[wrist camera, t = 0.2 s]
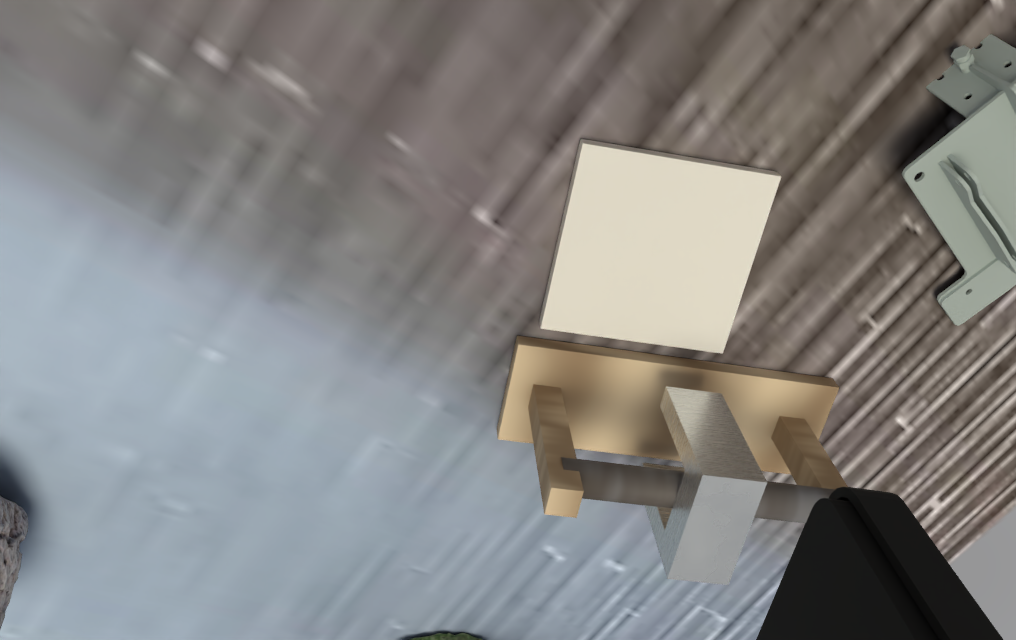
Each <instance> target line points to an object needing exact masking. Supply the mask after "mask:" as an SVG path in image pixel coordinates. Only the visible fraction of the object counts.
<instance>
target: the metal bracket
mask: <svg viewBox="0 0 1016 640" xmlns="http://www.w3.org/2000/svg"><path fill="white" fill-rule="evenodd" d="M980 44H981V45H982V47H981V48H979V49H975V48H973V49H972V50H970V49H969V48H968V47H966V46H965V45H963V46H961V47H958V48H956V49H954V51H953V53H952V55H951V58H953V59H954V63H955V64H953V65H952V66H951V67H950V68H949V69H947V70H946V71H945V72H944V73H942V75H943V76H944V78H943V79H942V80H937V79H935V80H934V81H933V82H932V83H930V84H929V85H928V86H927V87H926V88H927V90H928V91H930V92H931V93H933V94H934V95H935V96H937V97H938V98H939V99H941V100H942V101H944V102H945V103H946V104H948V105H949V106H950V107H952V108H953V109H955V110H956V111H957V112H959V113H960V114H961V115H963V116H964V117H966V118H967V119H966V120H964V121H963V122H962V123H961V124H959V125H958V126H957V127H956V128H954V129H953V130H952V131H950V132H949V133H948V134H947V135H945V136H944V137H943V138H942V139H940V140H939V141H938V142H937V143H935V144H934V145H933V146H932V147H930V148H929V149H928V150H927V151H925V152H924V153H923V154H922V155H920V156H919V157H918V158H917V159H915V160H914V161H913V162H912V163H910V164H909V165H908V166H907V167H906V168H905V169H904V170H903V172H902V176H903V178H904V179H905V181H906V182H907V184H908V185H909V187H910V189H911V190H912V192H913V193H914V195H915V196H916V198H917V199H918V201H919V202H920V204H921V205H922V207H923V208H924V210H925V211H926V213H927V214H928V216H929V217H930V219H931V220H932V222H933V223H934V225H935V226H936V228H937V229H938V231H939V232H940V234H941V235H942V237H943V238H944V240H945V241H946V243H947V244H948V246H949V247H950V249H951V250H952V252H953V253H954V255H955V256H956V258H957V259H958V261H959V262H960V264H961V265H962V267H963V268H964V270H965V273H964V275H963V276H962V277H961V278H960V279H959V280H957V281H956V282H955V283H953V284H952V285H951V286H949V287H948V288H947V289H945V290H944V291H943V292H941V293H940V294H939V295H938V296H937V301H938V303H939V304H940V306H941V307H942V308H943V310H944V311H945V312H946V314H947V315H948V317H949V318H950V319H951V321H952V322H953V323H954V324H955V325H961V324H962V323H964V322H965V321H967V320H968V319H969V318H971V317H972V316H973V315H975V314H976V313H978V312H979V311H980V310H982V309H983V308H985V307H986V306H987V305H989V304H990V303H991V302H993V301H994V300H996V299H997V298H998V297H1000V296H1001V295H1003V294H1004V293H1005V292H1007V291H1008V290H1010V289H1011V288H1012V287H1013V286H1015V285H1016V49H1015V48H1014V47H1012V46H1010V45H1009V44H1007V43H1005V42H1004V41H1002V40H1000V39H999V38H997V37H995V36H994V35H992V34H990V35H989V36H987V37H986V38H985V39H984V40H983V41H981V42H980ZM1010 63H1011V64H1012V65H1011V66H1009V67H1006V68H1005V66H1006V65H1007V64H1010ZM970 95H971V96H972V97H971V98H970V99H967V100H966V99H965V98H966V97H967V96H970ZM919 172H922V176H921V177H920V178H919V179H917V180H914V178H915V176H916V174H917V173H919Z"/></svg>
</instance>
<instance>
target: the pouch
mask: <svg viewBox="0 0 1016 640" xmlns="http://www.w3.org/2000/svg"><path fill="white" fill-rule="evenodd" d="M410 640H482V639H479V638H475V637H472V636H470V635H469V634H465V633H460V634H457V635H453V634H450V633H448V634H442V633H437V634H434V635H432V636H426V637H420V638H413V639H410Z"/></svg>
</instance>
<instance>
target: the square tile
mask: <svg viewBox="0 0 1016 640" xmlns="http://www.w3.org/2000/svg"><path fill="white" fill-rule="evenodd" d="M780 179H781V176H780V175H779V174H778V173H777V172H776V171H770V170H764V169H758V168H752V167H746V166H740V165H734V164H728V163H723V162H717V161H711V160H705V159H699V158H693V157H687V156H681V155H675V154H669V153H663V152H657V151H651V150H645V149H639V148H633V147H627V146H621V145H615V144H610V143H604V142H598V141H592V140H586V139H580V143H579V148H578V152H577V156H576V161H575V165H574V170H573V174H572V179H571V183H570V187H569V192H568V196H567V201H566V205H565V209H564V214H563V218H562V223H561V227H560V232H559V236H558V240H557V245H556V249H555V254H554V258H553V263H552V267H551V271H550V276H549V280H548V285H547V289H546V294H545V298H544V302H543V307H542V311H541V316H540V320H539V323H540V328H541V329H548V330H555V331H562V332H570V333H577V334H584V335H592V336H599V337H606V338H613V339H621V340H628V341H635V342H642V343H650V344H657V345H664V346H672V347H679V348H686V349H693V350H701V351H708V352H715V353H722V354H723V351H724V348H725V345H726V342H727V339H728V336H729V333H730V330H731V327H732V324H733V321H734V318H735V315H736V312H737V309H738V306H739V303H740V300H741V297H742V294H743V291H744V288H745V285H746V282H747V279H748V276H749V273H750V270H751V266H752V263H753V260H754V257H755V254H756V251H757V248H758V245H759V242H760V239H761V236H762V233H763V230H764V227H765V224H766V221H767V218H768V215H769V212H770V209H771V206H772V203H773V200H774V197H775V194H776V191H777V188H778V185H779V182H780Z"/></svg>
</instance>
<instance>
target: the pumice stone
mask: <svg viewBox="0 0 1016 640" xmlns="http://www.w3.org/2000/svg"><path fill="white" fill-rule="evenodd" d="M27 532H28V516H27V514H26V513H25V511H24V510H23V508H22V507H20V506H18V505H17V504H16V503H14V502H12V501H9V500H7V499H5V498H3V497H1V496H0V629H1V626H2V623H3V620H4V617H5V610H6V608H7V606H8V604H9V602H10V598H11V594H12V590H13V587H14V583H15V582H16V580H17V579H18V573H19V570H20V567H21V558H22V554H21V553H20V551H19V544H20V542H22V541H23V540H24V539H25V537H26V534H27Z"/></svg>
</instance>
